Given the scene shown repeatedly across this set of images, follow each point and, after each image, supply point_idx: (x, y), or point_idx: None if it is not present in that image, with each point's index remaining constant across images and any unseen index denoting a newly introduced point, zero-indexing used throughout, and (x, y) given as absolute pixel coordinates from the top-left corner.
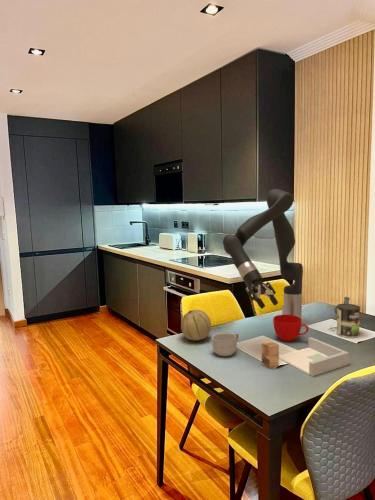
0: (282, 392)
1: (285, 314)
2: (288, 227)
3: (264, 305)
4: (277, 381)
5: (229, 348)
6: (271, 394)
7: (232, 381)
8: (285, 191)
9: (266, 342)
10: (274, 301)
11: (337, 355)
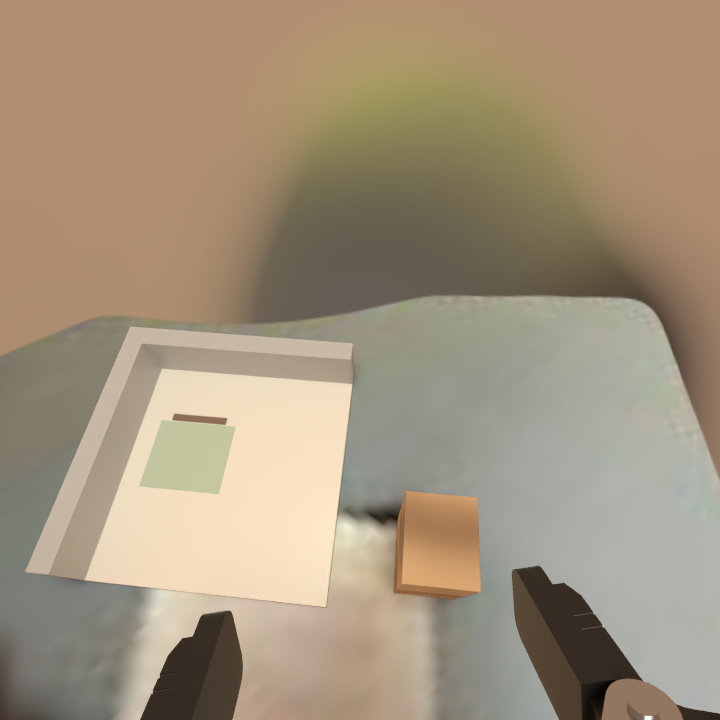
0: (537, 357)
1: None
2: None
3: (531, 568)
4: (501, 420)
5: None
6: (582, 369)
7: (692, 535)
8: None
9: (449, 570)
10: (224, 669)
11: (194, 335)
